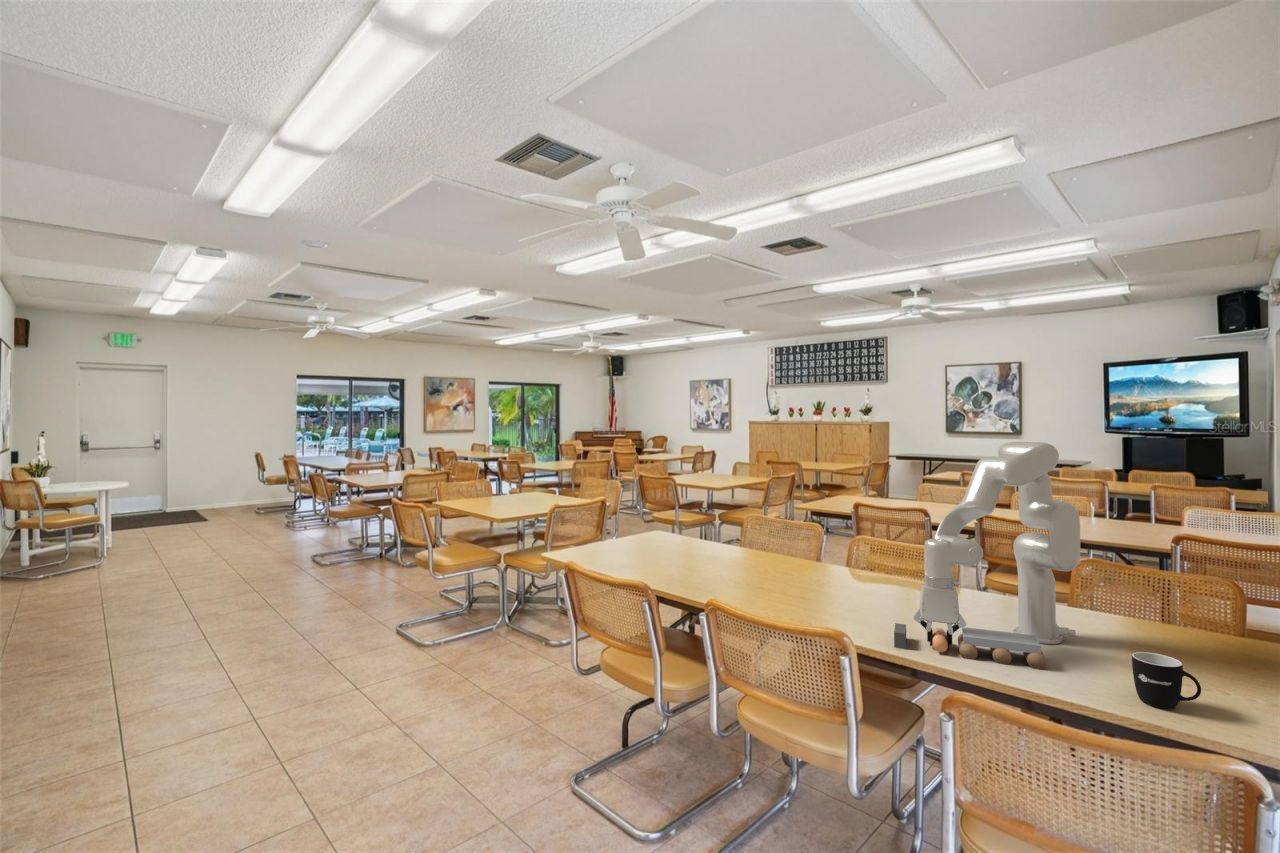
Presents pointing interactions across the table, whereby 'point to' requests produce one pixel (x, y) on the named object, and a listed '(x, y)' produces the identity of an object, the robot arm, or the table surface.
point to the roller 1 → (939, 640)
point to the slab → (1001, 640)
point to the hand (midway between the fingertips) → (939, 644)
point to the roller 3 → (1036, 660)
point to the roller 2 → (966, 649)
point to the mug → (1160, 679)
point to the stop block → (900, 636)
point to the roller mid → (1001, 655)
